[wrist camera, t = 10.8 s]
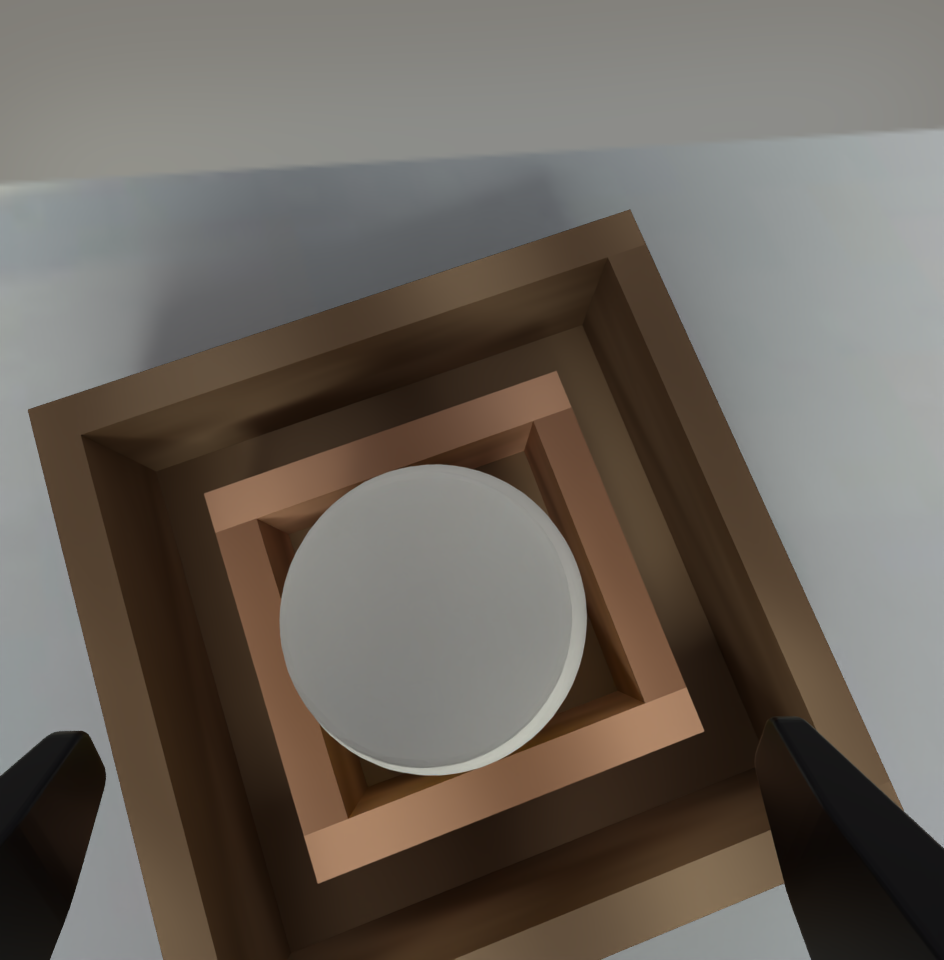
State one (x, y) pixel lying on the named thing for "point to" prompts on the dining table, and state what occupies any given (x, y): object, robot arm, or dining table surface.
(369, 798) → the box
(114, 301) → the dining table surface
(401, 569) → the supplement bottle
